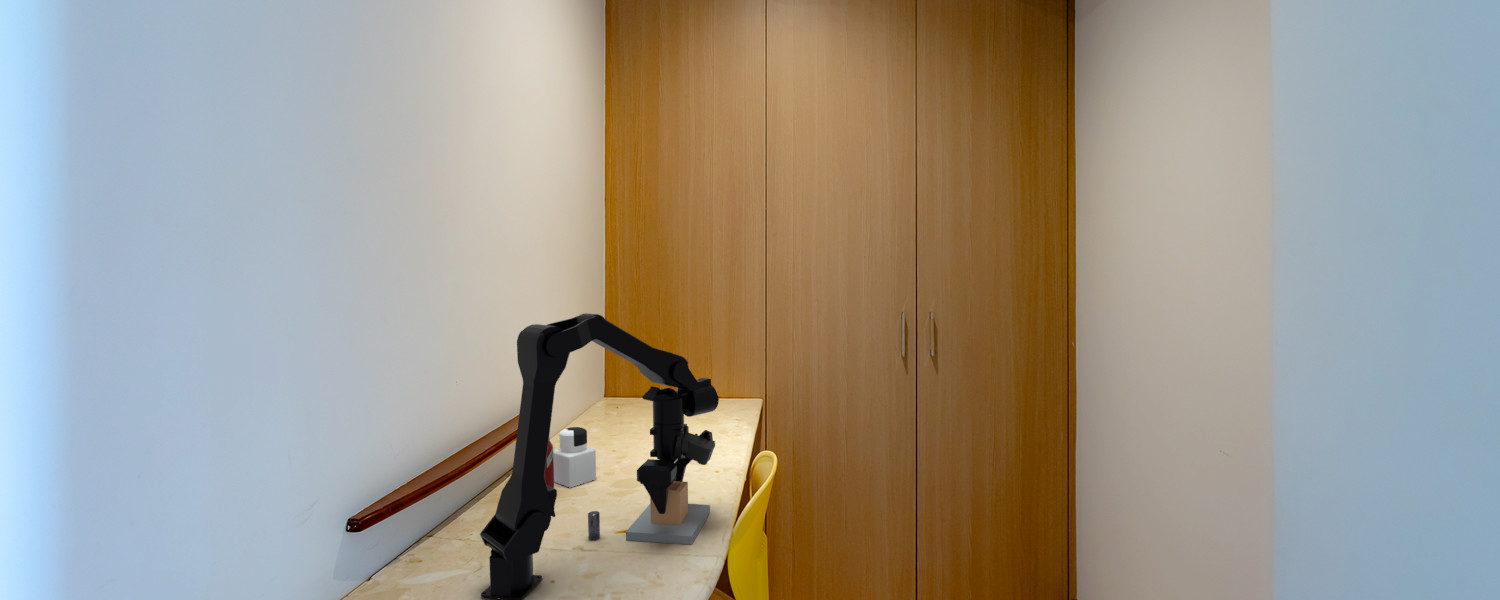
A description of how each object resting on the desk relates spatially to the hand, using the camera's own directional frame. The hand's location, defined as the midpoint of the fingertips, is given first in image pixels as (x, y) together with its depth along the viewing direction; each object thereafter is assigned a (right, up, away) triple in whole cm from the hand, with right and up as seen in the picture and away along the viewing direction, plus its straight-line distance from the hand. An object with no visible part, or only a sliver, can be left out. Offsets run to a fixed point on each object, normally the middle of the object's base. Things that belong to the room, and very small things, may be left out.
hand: (669, 503), depth 111 cm
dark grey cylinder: (-13, -5, -5) cm, 15 cm away
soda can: (-31, -4, +17) cm, 35 cm away
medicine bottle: (-25, -4, +25) cm, 36 cm away
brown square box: (0, -3, 0) cm, 3 cm away
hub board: (0, -4, 0) cm, 4 cm away
